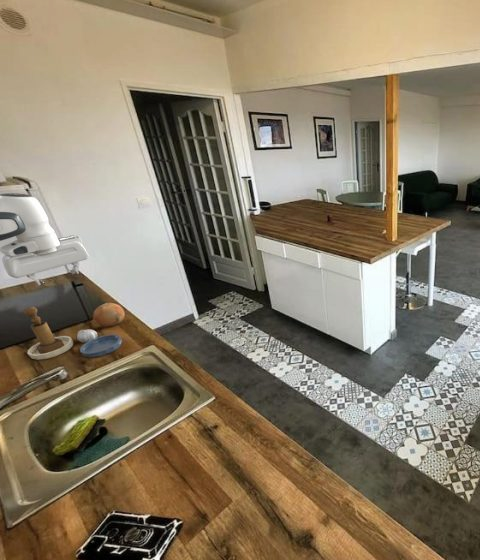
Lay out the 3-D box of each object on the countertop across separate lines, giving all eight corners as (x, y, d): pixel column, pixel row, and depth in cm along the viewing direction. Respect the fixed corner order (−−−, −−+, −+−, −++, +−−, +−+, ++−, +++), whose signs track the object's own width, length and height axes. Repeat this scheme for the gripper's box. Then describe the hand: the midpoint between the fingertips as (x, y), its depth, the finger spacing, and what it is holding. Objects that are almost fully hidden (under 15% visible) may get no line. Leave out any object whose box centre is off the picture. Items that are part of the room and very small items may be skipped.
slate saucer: (92, 361, 111) (89, 357, 110) (76, 352, 115) (73, 347, 114) (128, 344, 120) (126, 339, 119) (112, 335, 124) (110, 331, 123)
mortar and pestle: (64, 341, 120) (42, 301, 112) (64, 349, 116) (42, 307, 108) (39, 348, 116) (15, 307, 108) (39, 357, 112) (14, 314, 104)
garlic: (76, 346, 118) (70, 335, 116) (82, 338, 122) (76, 327, 120) (96, 342, 120) (90, 331, 118) (101, 335, 125) (96, 324, 122)
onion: (113, 317, 136) (105, 297, 132) (133, 319, 135) (125, 299, 131) (91, 329, 128) (82, 309, 123) (113, 332, 127) (103, 311, 122)
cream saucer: (38, 364, 109) (35, 359, 108) (24, 354, 113) (21, 349, 112) (80, 345, 118) (77, 341, 117) (65, 337, 123) (62, 332, 122)
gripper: (74, 232, 113) (90, 267, 119) (-8, 250, 97) (14, 289, 103) (83, 235, 111) (98, 270, 117) (0, 253, 94) (23, 293, 100)
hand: (58, 279), depth 110 cm, fingers open, 8 cm apart
